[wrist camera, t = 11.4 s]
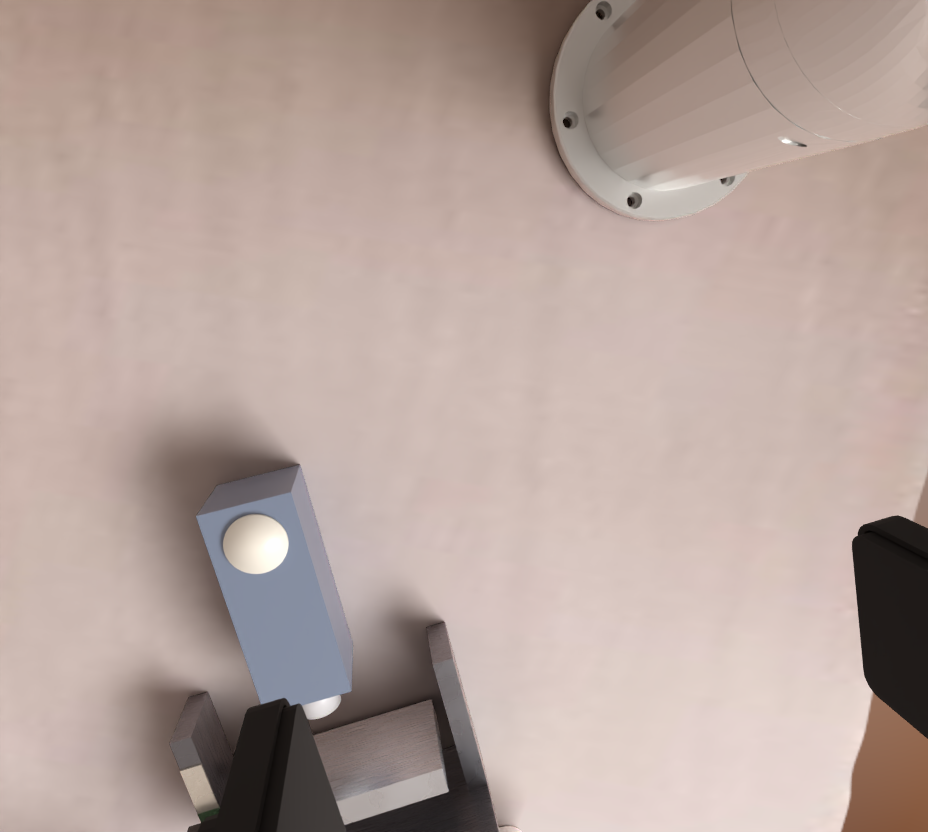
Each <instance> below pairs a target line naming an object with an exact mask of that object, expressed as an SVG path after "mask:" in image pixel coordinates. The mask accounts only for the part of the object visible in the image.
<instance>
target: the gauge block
mask: <svg viewBox="0 0 928 832" xmlns="http://www.w3.org/2000/svg"><path fill="white" fill-rule="evenodd" d="M196 518H197V521H198V524H199V527H200V530H201V533H202V535H203V538H204V541H205V544H206V547H207V550H208V553H209V556H210V559H211V561H212V564H213V567H214V570H215V573H216V576H217V579H218V582H219V585H220V587H221V590H222V593H223V596H224V599H225V602H226V605H227V608H228V610H229V613H230V616H231V619H232V622H233V625H234V628H235V631H236V634H237V636H238V639H239V642H240V645H241V648H242V651H243V654H244V657H245V660H246V662H247V665H248V668H249V671H250V674H251V677H252V680H253V683H254V686H255V688H256V691H257V694H258V697H259V700H260V703H261V704H264V703H268V702H271V701H274V700H278V699H281V698H286V699H287V700H288V702H289V704H290V706H292V705H295V704H298V703H299V704H301V705H302V707H303V709H304V712H305V714H306V717H307V719H319V718H322V717H325V716H327V715H329V714H330V713H332V712H333V711H334V710H335V709H336V708H337V707H338V706H339V704H340V702H341V694H344V693H348V692H351V691H352V662H353V641H352V638H351V635H350V631H349V628H348V624H347V621H346V618H345V614H344V611H343V608H342V604H341V601H340V597H339V594H338V591H337V587H336V584H335V581H334V577H333V574H332V570H331V567H330V564H329V560H328V557H327V554H326V550H325V547H324V543H323V540H322V537H321V533H320V530H319V527H318V523H317V520H316V516H315V513H314V510H313V506H312V503H311V500H310V496H309V493H308V489H307V486H306V483H305V479H304V476H303V473H302V469H301V466H300V465H296V466H292V467H288V468H284V469H280V470H276V471H272V472H268V473H264V474H260V475H256V476H252V477H248V478H244V479H240V480H236V481H232V482H228V483H224V484H220V485H217V486H216V487H215V489H214V490H213V492H212V493H211V495H210V496H209V498H208V499H207V501H206V502H205V504H204V505H203V507H202V508H201V510H200V511H199V512H198V514H197V515H196Z"/></svg>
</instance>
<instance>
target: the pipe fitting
mask: <svg viewBox="0 0 928 832" xmlns="http://www.w3.org/2000/svg"><path fill="white" fill-rule="evenodd" d="M499 832H522V831H521V830H520V829H518V828H516V827H513V826H503V827H499Z"/></svg>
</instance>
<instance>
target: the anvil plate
mask: <svg viewBox="0 0 928 832" xmlns="http://www.w3.org/2000/svg"><path fill="white" fill-rule="evenodd" d="M313 737H314V740H315V743H316V746H317V748H318V751H319V754H320V757H321V760H322V763H323V766H324V768H325V771H326V774H327V777H328V780H329V783H330V785H331V788H332V791H333V794H334V797H335V800H336V803H337V805H338V808H339V811H340V814H341V817H342V820H343V822H344V825H346V824H349V823H352V822H356V821H359V820H362V819H365V818H368V817H371V816H374V815H378V814H381V813H384V812H387V811H390V810H393V809H396V808H400V807H403V806H406V805H409V804H412V803H415V802H418V801H422V800H425V799H428V798H431V797H434V796H437V795H441V794H444V793H447V792H449V790H448V784H447V777H446V771H445V765H444V758H443V752H442V745H441V739H440V733H439V726H438V720H437V716H436V713H435V710H434V706H433V703H432V699H430V700H427V701H424V702H420V703H417V704H414V705H411V706H407V707H404V708H401V709H397V710H394V711H391V712H388V713H384V714H381V715H378V716H375V717H371V718H368V719H365V720H361V721H358V722H355V723H352V724H348V725H345V726H342V727H338V728H335V729H332V730H329V731H325V732H322V733H319V734H315V735H313ZM200 825H201V823H200V824H197V825H194V826H190V827H189V828H188V831H187V832H198V830H199V827H200Z"/></svg>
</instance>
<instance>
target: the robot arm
mask: <svg viewBox="0 0 928 832" xmlns="http://www.w3.org/2000/svg"><path fill="white" fill-rule="evenodd" d="M596 12H599V13H600V14H601V16H602V20H600V19H599V18H598V17H597V15H596ZM549 110H550V117H551V124H552V131H553V135H554V138H555V141H556V144H557V147H558V150H559V153H560V156H561V158H562V160H563V161H564V163H565V165H566V167H567V169H568V171H569V172H570V174H571V176H572V177H573V178H574V179H575V181H576V182H577V183H578V184H579V185H580V187H581V188H582V189H583V190H584V192H586V193H587V194H588V195H589V196H590V197H592V198H593V199H594V200H595V201H597V202H598V203H599V204H600V205H602V206H604V207H606V208H608V209H609V210H611V211H613V212H615V213H617V214H619V215H622V216H626V217H629V218H633V219H637V220H646V221H664V220H673V219H678V218H682V217H686V216H690V215H694V214H696V213H698V212H701V211H703V210H705V209H707V208H709V207H711V206H713V205H715V204H716V203H717V202H719V201H720V200H722V199H723V198H724V197H726V196H727V195H728V194H730V193H731V192H732V191H733V190H734V189H735V188H736V187H737V186H738V185H739V184H740V183H741V181H742V180H743V179H744V178H745V177H746V176H747V174H748V173H749V172H750V171H754V170H758V169H762V168H766V167H770V166H774V165H778V164H782V163H786V162H790V161H794V160H798V159H802V158H806V157H810V156H814V155H818V154H822V153H826V152H830V151H834V150H838V149H842V148H846V147H850V146H854V145H858V144H862V143H865V142H869V141H873V140H877V139H881V138H883V137H886V136H890V135H894V134H898V133H902V132H906V131H909V130H913V129H916V128H919V127H922V126H925V125H928V0H592V1H590V2H589V3H588V5H587V6H586V7H585V8H584V9H583V11H582V12H581V13H580V14H579V15H578V17H577V18H576V19H575V21H574V23H573V24H572V26H571V28H570V29H569V31H568V32H567V34H566V36H565V37H564V39H563V42H562V44H561V47H560V49H559V52H558V55H557V57H556V60H555V63H554V68H553V73H552V78H551V83H550V104H549ZM564 119H567V120H569V122H570V126H569V128H566V127H565V126H564V124H563V120H564ZM720 179H723V180H722V183H721V181H720ZM628 197H629V198H631V200H632V204H631V206H628V204H627V198H628ZM852 552H853V562H854V573H855V584H856V594H857V605H858V616H859V627H860V637H861V648H862V659H863V669H864V675H865V678H866V681H867V683H868V685H869V686H870V688H871V689H872V691H873V692H874V693H875V694H876V695H877V696H878V697H879V698H880V699H881V700H882V701H883V702H885V703H886V704H887V705H889V707H891V708H892V709H893V710H894V711H895V712H897V713H898V714H899V715H900V716H901V717H902V718H904V719H905V720H906V721H907V722H909V723H910V724H911V725H912V726H913V727H914V728H916V729H917V730H918V731H919V732H920V733H921V734H923V735H924V736H925V737H926V738H928V528H925V527H923V526H921V525H919V524H917V523H915V522H913V521H911V520H908V519H906V518H904V517H901V516H891V517H888V518H885V519H881V520H878V521H875V522H871V523H868V524H864V525H863V526H861V527H860V529H859V531H858V536H856V537H855V538H854V539H853V541H852ZM198 832H347V831H346V828H345V825H344V822H343V820H342V817H341V814H340V811H339V808H338V805H337V803H336V800H335V797H334V794H333V791H332V788H331V785H330V783H329V780H328V777H327V774H326V771H325V768H324V766H323V763H322V760H321V757H320V754H319V751H318V748H317V746H316V743H315V740H314V737H313V734H312V731H311V729H310V726H309V723H308V720H307V717H306V714H305V712H304V709H303V707H302V705H301V704H299V703H298V704H295V705H292V706H290V704H289V702H288V700H287V699H286V698H281V699H278V700H274V701H271V702H268V703H264V704H261V705H258V706H254V707H251V708H249V709H247V712H246V714H245V718H244V721H243V725H242V729H241V732H240V736H239V740H238V743H237V747H236V751H235V754H234V758H233V762H232V765H231V769H230V773H229V776H228V780H227V784H226V787H225V791H224V795H223V798H222V802H221V806H220V809H219V813H218V814H216V815H213V816H209V817H206V818H205V820H204V821H203V822H202V823H201V825H200V827H199V830H198Z"/></svg>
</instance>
